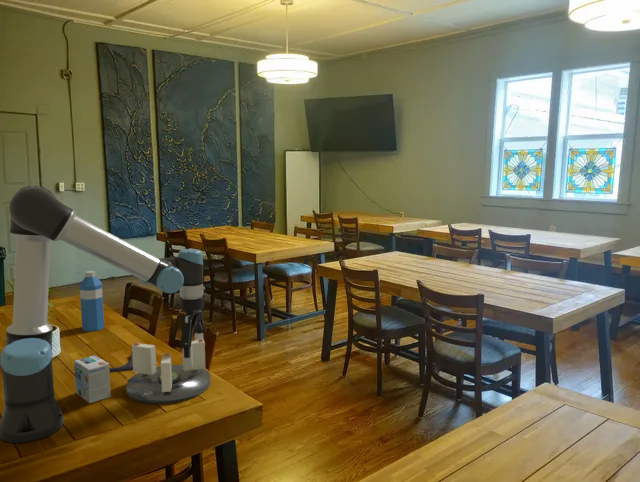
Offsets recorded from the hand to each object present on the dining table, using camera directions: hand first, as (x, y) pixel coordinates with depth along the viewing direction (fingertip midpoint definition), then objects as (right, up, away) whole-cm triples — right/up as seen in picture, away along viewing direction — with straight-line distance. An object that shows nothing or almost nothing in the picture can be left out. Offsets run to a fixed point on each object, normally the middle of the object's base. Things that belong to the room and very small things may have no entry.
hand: (193, 358), depth 172 cm
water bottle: (-57, +1, +54) cm, 78 cm away
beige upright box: (0, -4, +1) cm, 4 cm away
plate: (-7, -7, -5) cm, 11 cm away
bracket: (-26, -5, +15) cm, 30 cm away
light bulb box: (-28, -9, -12) cm, 32 cm away
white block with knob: (-5, -6, -14) cm, 16 cm away
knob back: (-15, -5, -3) cm, 16 cm away
